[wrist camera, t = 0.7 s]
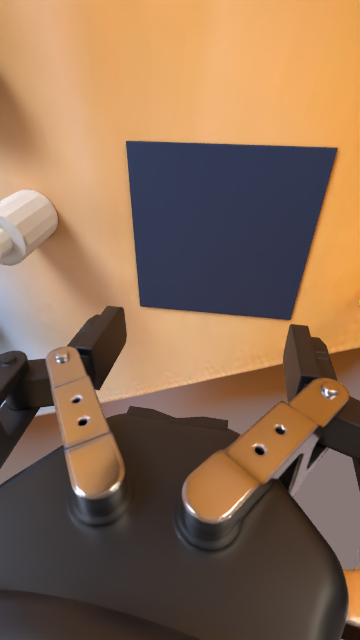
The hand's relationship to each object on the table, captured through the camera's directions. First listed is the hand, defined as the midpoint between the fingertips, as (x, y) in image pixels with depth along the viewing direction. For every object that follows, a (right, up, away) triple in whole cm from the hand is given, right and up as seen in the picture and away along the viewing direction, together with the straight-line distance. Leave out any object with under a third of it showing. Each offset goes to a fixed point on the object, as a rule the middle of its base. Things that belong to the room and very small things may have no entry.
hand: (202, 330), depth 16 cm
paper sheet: (+3, +10, +21) cm, 24 cm away
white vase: (-18, +13, +23) cm, 32 cm away
